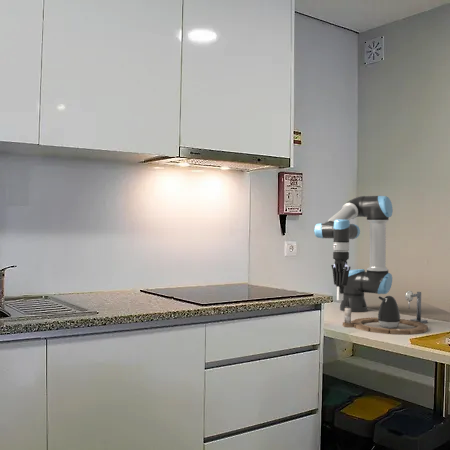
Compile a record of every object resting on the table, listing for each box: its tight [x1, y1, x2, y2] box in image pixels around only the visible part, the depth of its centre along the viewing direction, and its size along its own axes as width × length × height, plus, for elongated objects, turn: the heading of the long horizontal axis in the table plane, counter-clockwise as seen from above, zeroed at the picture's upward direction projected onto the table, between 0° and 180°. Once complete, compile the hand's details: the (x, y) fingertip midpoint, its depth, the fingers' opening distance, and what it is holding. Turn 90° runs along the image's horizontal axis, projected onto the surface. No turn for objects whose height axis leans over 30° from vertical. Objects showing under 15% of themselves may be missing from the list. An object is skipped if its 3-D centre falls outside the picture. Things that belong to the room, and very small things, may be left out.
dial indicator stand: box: [404, 290, 428, 324], centre depth 274 cm, size 14×6×16 cm, turn 126°
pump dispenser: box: [377, 295, 401, 329], centre depth 262 cm, size 10×10×15 cm
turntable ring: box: [342, 308, 429, 335], centre depth 262 cm, size 34×38×8 cm
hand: (340, 300), depth 267 cm, fingers closed
